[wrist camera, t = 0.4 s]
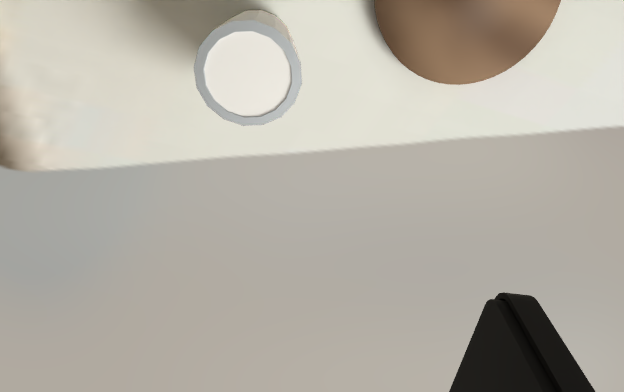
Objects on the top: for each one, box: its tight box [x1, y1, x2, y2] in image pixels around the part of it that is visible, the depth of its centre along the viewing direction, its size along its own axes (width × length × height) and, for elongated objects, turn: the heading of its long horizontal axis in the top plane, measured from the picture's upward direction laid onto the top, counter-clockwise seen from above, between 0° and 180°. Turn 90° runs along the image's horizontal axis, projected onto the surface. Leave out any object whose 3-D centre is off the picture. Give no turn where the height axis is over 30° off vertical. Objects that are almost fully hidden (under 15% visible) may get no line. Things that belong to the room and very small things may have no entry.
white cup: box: [194, 10, 302, 126], centre depth 36 cm, size 7×7×7 cm
